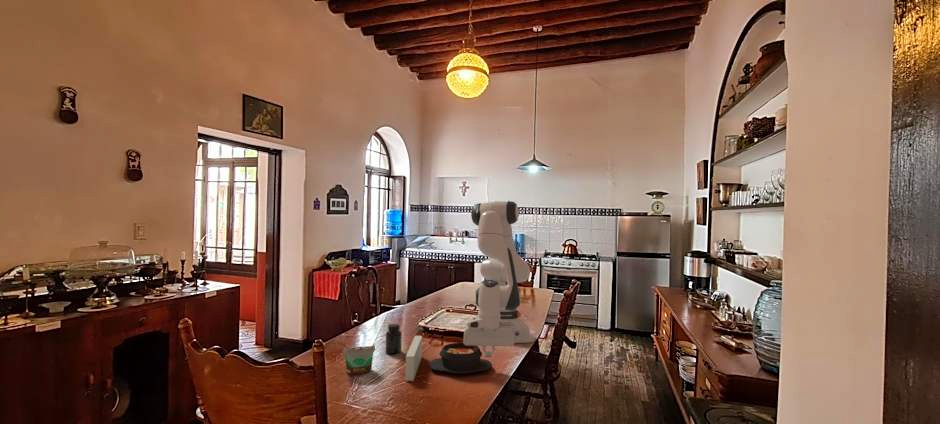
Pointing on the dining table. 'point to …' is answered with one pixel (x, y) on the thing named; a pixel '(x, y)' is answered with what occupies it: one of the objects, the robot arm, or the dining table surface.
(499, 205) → the robot arm
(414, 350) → the board
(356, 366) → the food container
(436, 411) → the dining table surface
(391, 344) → the supplement bottle
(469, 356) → the casserole
